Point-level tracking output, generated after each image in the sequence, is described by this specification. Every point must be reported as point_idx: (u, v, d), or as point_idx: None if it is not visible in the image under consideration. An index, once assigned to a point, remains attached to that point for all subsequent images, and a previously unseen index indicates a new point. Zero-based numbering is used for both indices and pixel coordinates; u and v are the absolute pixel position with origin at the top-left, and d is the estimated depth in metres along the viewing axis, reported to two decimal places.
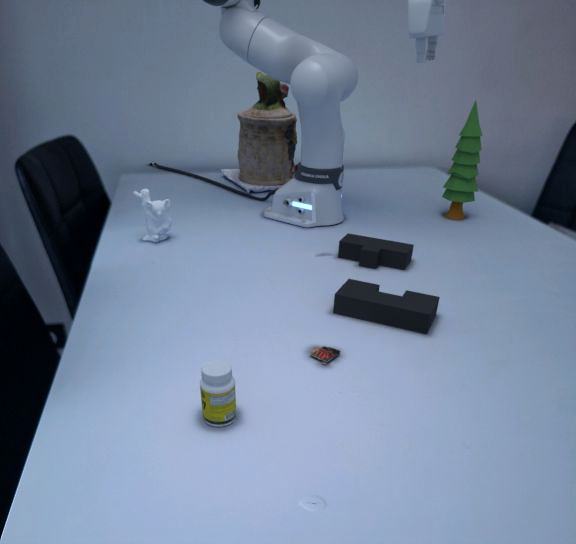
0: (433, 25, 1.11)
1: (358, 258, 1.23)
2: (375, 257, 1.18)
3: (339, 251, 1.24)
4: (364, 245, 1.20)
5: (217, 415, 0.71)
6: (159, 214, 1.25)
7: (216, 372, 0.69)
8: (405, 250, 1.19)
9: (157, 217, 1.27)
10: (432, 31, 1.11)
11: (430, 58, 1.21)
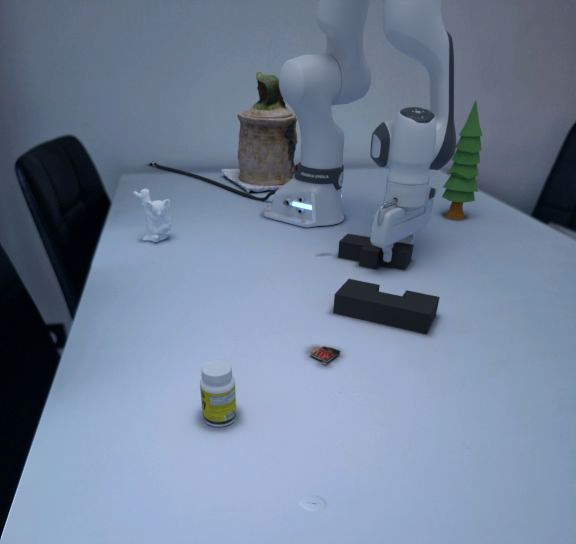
0: None
1: (358, 258, 1.23)
2: (375, 257, 1.18)
3: (339, 251, 1.24)
4: (364, 245, 1.20)
5: (217, 415, 0.71)
6: (159, 214, 1.25)
7: (216, 372, 0.69)
8: (405, 250, 1.19)
9: (157, 217, 1.27)
10: None
11: None
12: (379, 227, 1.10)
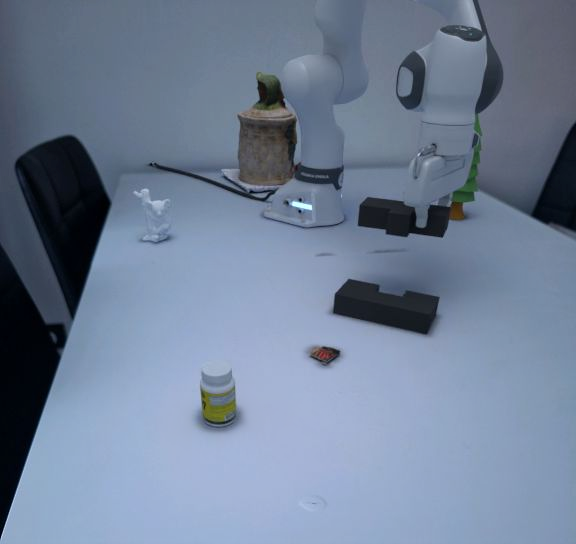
0: None
1: (383, 225, 0.99)
2: (407, 222, 0.95)
3: (359, 218, 1.00)
4: (391, 209, 0.97)
5: (217, 415, 0.71)
6: (159, 214, 1.25)
7: (216, 372, 0.69)
8: (443, 212, 0.96)
9: (157, 217, 1.27)
10: None
11: None
12: (415, 181, 0.87)
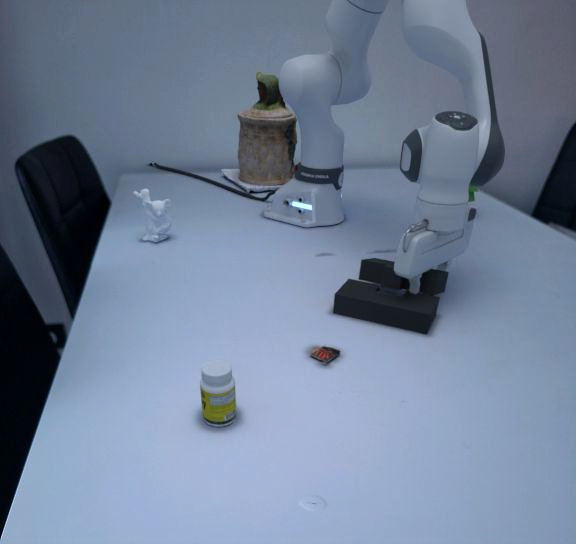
0: None
1: (381, 280, 1.04)
2: (399, 276, 1.00)
3: (360, 272, 1.07)
4: (388, 265, 1.03)
5: (217, 415, 0.71)
6: (159, 214, 1.25)
7: (216, 372, 0.69)
8: (436, 272, 1.00)
9: (157, 217, 1.27)
10: None
11: None
12: (404, 254, 0.92)
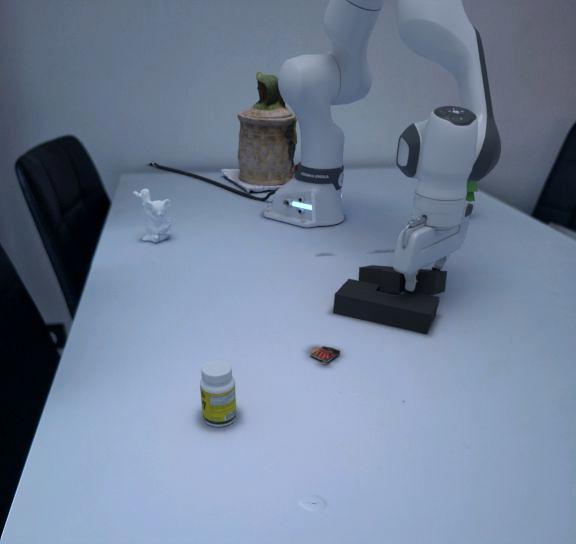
0: None
1: None
2: (398, 279, 1.00)
3: (359, 279, 1.07)
4: (386, 269, 1.03)
5: (217, 415, 0.71)
6: (159, 214, 1.25)
7: (216, 372, 0.69)
8: (434, 272, 1.00)
9: (157, 217, 1.27)
10: None
11: None
12: (403, 250, 0.91)
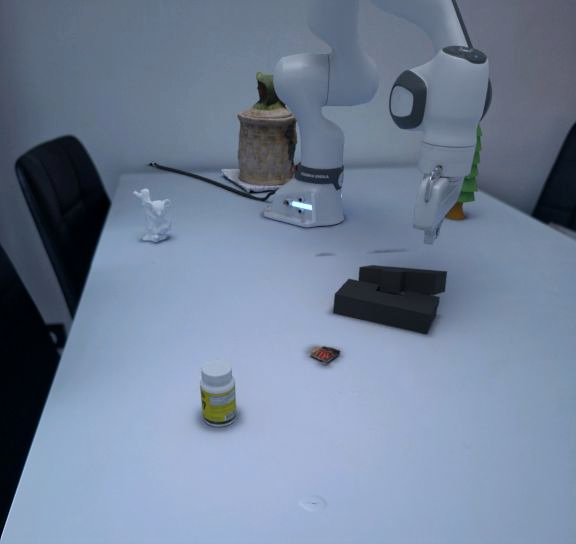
0: None
1: None
2: (398, 279, 1.00)
3: (359, 279, 1.07)
4: (386, 269, 1.03)
5: (217, 415, 0.71)
6: (159, 214, 1.25)
7: (216, 372, 0.69)
8: (434, 272, 1.00)
9: (157, 217, 1.27)
10: None
11: None
12: (426, 204, 0.85)
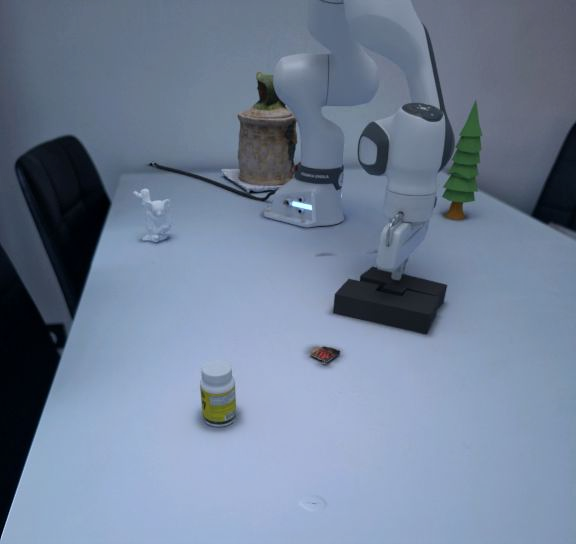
0: None
1: None
2: None
3: None
4: (387, 283, 1.04)
5: (217, 415, 0.71)
6: (159, 214, 1.25)
7: (216, 372, 0.69)
8: (435, 291, 1.01)
9: (157, 217, 1.27)
10: None
11: None
12: (388, 248, 0.92)
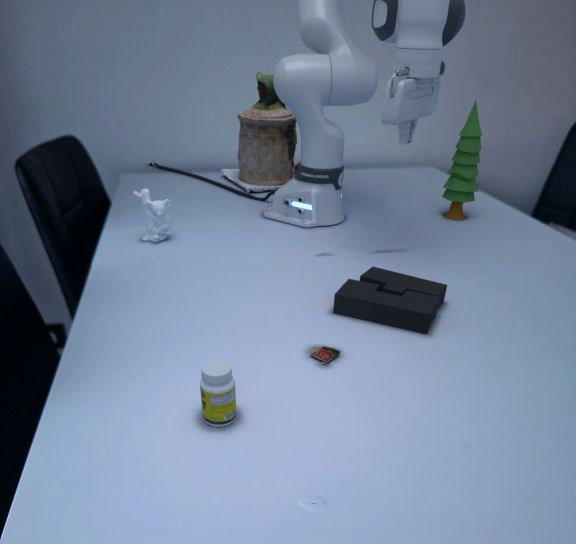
0: None
1: None
2: None
3: None
4: (387, 283, 1.04)
5: (217, 415, 0.71)
6: (159, 214, 1.25)
7: (216, 372, 0.69)
8: (435, 291, 1.01)
9: (157, 217, 1.27)
10: None
11: None
12: (392, 99, 0.98)
